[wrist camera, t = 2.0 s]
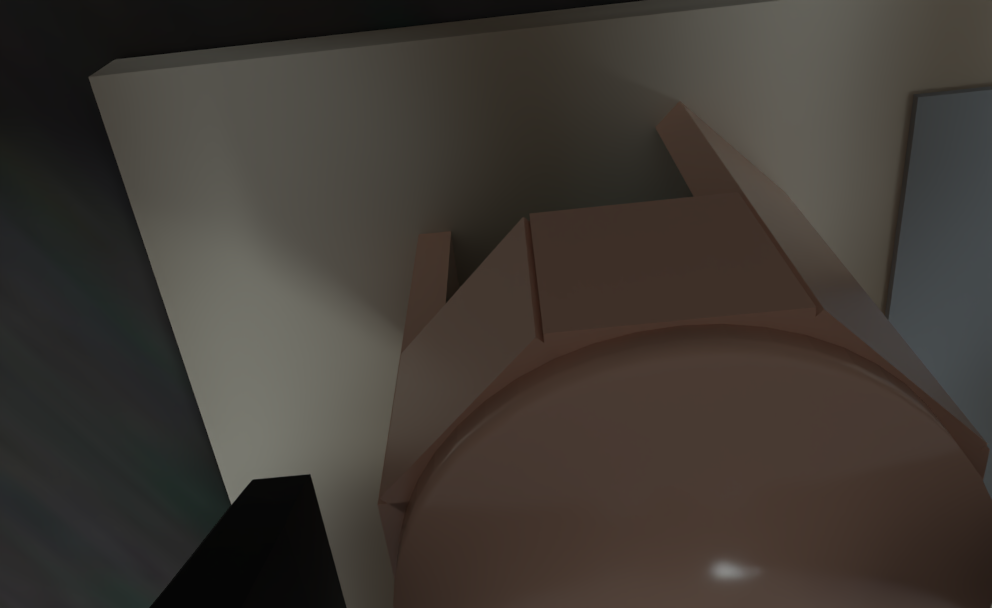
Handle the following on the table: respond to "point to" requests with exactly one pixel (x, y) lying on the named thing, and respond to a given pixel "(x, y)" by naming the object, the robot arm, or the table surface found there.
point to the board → (527, 193)
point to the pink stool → (673, 417)
